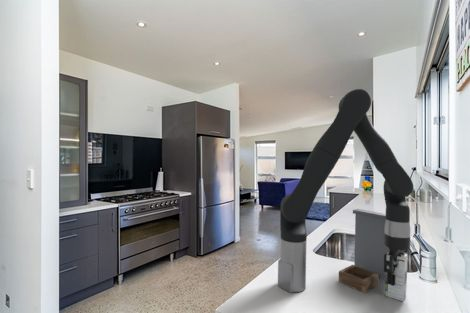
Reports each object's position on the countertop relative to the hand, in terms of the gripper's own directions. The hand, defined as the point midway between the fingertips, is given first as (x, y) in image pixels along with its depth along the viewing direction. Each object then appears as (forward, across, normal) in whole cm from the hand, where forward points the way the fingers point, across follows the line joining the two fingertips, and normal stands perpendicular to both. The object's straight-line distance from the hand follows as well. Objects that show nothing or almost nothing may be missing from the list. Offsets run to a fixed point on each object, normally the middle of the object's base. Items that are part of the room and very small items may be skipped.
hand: (396, 281), depth 89 cm
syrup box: (+5, 0, 0) cm, 5 cm away
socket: (+5, +2, -12) cm, 13 cm away
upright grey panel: (+5, -10, -12) cm, 16 cm away
